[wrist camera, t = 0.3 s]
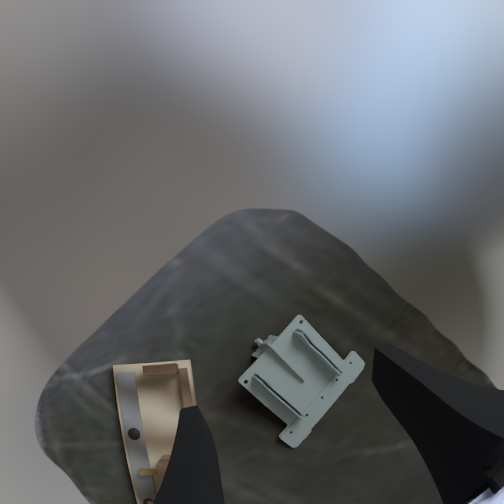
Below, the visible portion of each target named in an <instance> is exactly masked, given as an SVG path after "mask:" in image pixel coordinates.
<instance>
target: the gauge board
mask: <svg viewBox="0 0 504 504" xmlns="http://www.w3.org/2000/svg"><path fill="white" fill-rule="evenodd" d="M113 372H114V381H115V389H116V397H117V404H118V411H119V418H120V424H121V430H122V436H123V441H124V447H125V452H126V457H127V462H128V467H129V471H130V476H131V480H132V484H133V488H134V492H135V496H136V500H137V504H153V502H154V500H155V498H156V496H157V493H158V491H159V489H160V482H159V478H158V475H140V474H139V468H156V464H157V463H158V461H159V460H160V459H161V457H162V456H163V455H171V452H172V448H173V444H174V440H175V436H176V431H177V426H178V420H179V413H180V410H181V409H182V408H186V407H191V406H195V405H197V403H196V397H195V390H194V383H193V376H192V369H191V361H190V360H181V361H170V362H157V363H143V364H127V365H113Z"/></svg>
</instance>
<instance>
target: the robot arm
mask: <svg viewBox="0 0 504 504" xmlns="http://www.w3.org/2000/svg"><path fill="white" fill-rule="evenodd" d="M372 382H373V384H374V386H375V388H376V389H377V391H378V393H379V395H380V396H381V398H382V400H383V401H384V403H385V404H386V405H387V407H388V408H389V409H390V411H391V412H392V413H393V415H394V416H395V417H396V419H397V420H398V421H399V423H400V424H401V425H402V426H403V428H404V429H405V430H406V432H407V433H408V434H409V436H410V437H411V439H412V440H413V442H414V443H415V445H416V447H417V449H418V450H419V452H420V454H421V456H422V457H423V459H424V461H425V463H426V465H427V467H428V469H429V471H430V473H431V475H432V477H433V479H434V482H435V484H436V486H437V488H438V491H439V493H440V496H441V498H442V501H443V503H444V504H504V390H498V389H493V388H489V387H484V386H480V385H477V384H473V383H470V382H467V381H464V380H462V379H459V378H456V377H454V376H451V375H449V374H447V373H444V372H442V371H440V370H438V369H436V368H434V367H432V366H430V365H428V364H426V363H424V362H422V361H420V360H418V359H416V358H415V357H413V356H411V355H409V354H407V353H406V352H404V351H402V350H400V349H399V348H397V347H395V346H393V345H392V344H390V343H388V342H386V343H383V344H381V345H379V346H376V347H374V359H373V372H372ZM153 504H225V503H224V497H223V490H222V484H221V477H220V470H219V463H218V456H217V452H216V448H215V444H214V441H213V437H212V433H211V431H210V430H209V428H208V426H207V424H206V422H205V420H204V418H203V416H202V414H201V412H200V410H199V408H198V406H197V405H195V406H191V407H186V408H182V409H181V410H180V413H179V420H178V426H177V431H176V436H175V440H174V444H173V448H172V452H171V456H170V460H169V463H168V466H167V469H166V472H165V475H164V478H163V481H162V484H161V486H160V489H159V491H158V493H157V496H156V498H155V500H154V502H153Z"/></svg>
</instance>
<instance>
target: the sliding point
mask: <svg viewBox="0 0 504 504" xmlns="http://www.w3.org/2000/svg"><path fill="white" fill-rule="evenodd" d="M170 456H171V455H163V456H162V457H161V459H160V460H159V461H158V463H157V464H156V468H139V474H140V475H158V478H159V482H160V486H161V484H162V481H163V478H164V475H165V472H166V469H167V466H168V463H169V460H170Z"/></svg>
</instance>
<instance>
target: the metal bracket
mask: <svg viewBox="0 0 504 504" xmlns="http://www.w3.org/2000/svg"><path fill="white" fill-rule="evenodd" d="M300 320H302V321H303V323H302V324H300V323H299V321H300ZM255 342H256V343H257V345H258V346H259V347H258V348H257V350H256V352H254V353H253V354H252V356H253V357H256V358H258V359H257V360H256V361H255V362H254V363H253V364H252V365H251V366H250V367H249V368H248V369H247V370H246V371H245V373H244V374H243V375H242V376H241V377H240V378H239V379H238V381H239V383H240V384H242V385H243V386H244V387H245V388H246V389H247V390H248V391H249V392H250V393H252V394H253V395H254V396H255V397H256V398H257V399H258V400H259V401H261V402H262V403H263V404H264V405H265V406H266V407H267V408H269V409H270V410H271V411H272V412H273V413H274V414H276V415H277V416H278V417H279V418H280V419H282V420H283V421H284V422H285V423H286V424H287V427H286V428H285V429H284V430H283V431H282V432H281V433H280V434H279V438H280V439H282V440H283V441H284V442H285V443H287V444H288V445H289V446H291V447H292V448H295V447H297V446H298V445H299V444H300V443H301V442H302V441H303V440H304V439H305V438H306V437H307V436H308V434H309V433H310V432H311V429H312V428H313V426H314V425H315V424H316V423H317V422H318V421H319V420H320V419H321V417H322V416H323V415H324V414H325V413H326V412H327V410H328V409H329V408H330V407H331V406H332V404H333V403H334V402H335V401H336V400H337V398H338V397H339V396H340V395H341V394H342V392H343V391H344V390H345V389H346V387H347V386H348V385H349V384H350V383H353V382H354V380H355V379H356V378H357V376H358V375H359V374H360V373H361V371H362V370H363V368H364V361H363V360H362V359H361V358H360V357H359V356H358V355H357V353H356V352H354V351H351V352H350V353H349V355H348V356H347V357H346V358H345V359H344V360H342V359H341V358H340V357H339V355H338V354H337V353H336V352H335V351H334V350H333V349H332V348H331V347H330V346H329V345H328V344H327V343H326V341H325V340H324V339H323V338H322V337H321V336H320V335H319V334H318V333H317V332H316V331H315V330H314V329H313V327H312V326H311V325H310V324H309V323H308V322H307V321H306V320H305V319H304V318H303V317H302V316H301V315H297V316H296V317H295V319H294V320H293V321H292V322H291V323H290V324H289V325H288V326H287V327H286V329H285V330H284V331H283V332H282V333H281V334H280V335H279V336H273V335H270V336H269V337H268V338H267V340H265V341H264V342H263V341H262V340H260V338H257V339H256V340H255ZM350 362H351V364H350ZM336 379H337V381H336ZM245 380H247V381H248V383H247V384H244V381H245ZM322 396H323V398H322V399H321V397H322ZM306 414H308V415H307V416H306ZM291 431H292V433H290V432H291Z"/></svg>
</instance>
